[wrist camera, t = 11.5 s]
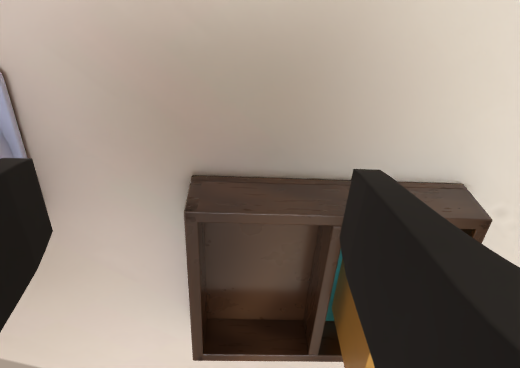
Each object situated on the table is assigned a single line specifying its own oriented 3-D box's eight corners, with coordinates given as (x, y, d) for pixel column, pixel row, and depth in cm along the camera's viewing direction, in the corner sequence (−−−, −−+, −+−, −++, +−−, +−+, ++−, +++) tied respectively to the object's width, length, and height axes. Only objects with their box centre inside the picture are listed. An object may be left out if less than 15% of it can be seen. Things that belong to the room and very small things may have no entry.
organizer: (198, 318, 26) (192, 360, 23) (191, 175, 20) (183, 211, 18) (410, 320, 27) (427, 362, 24) (463, 183, 21) (493, 219, 18)
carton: (331, 307, 25) (352, 406, 20) (351, 216, 21) (384, 309, 16) (395, 308, 25) (433, 406, 20) (427, 218, 21) (483, 311, 16)
